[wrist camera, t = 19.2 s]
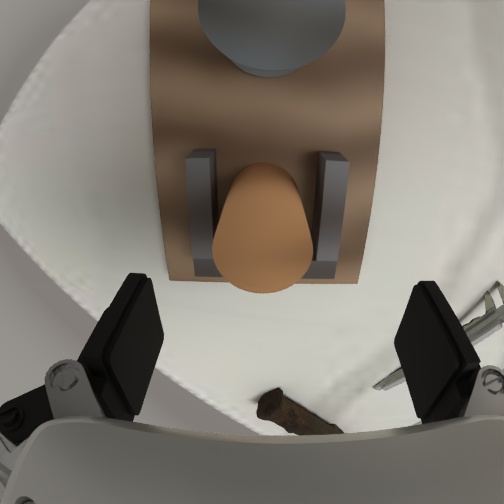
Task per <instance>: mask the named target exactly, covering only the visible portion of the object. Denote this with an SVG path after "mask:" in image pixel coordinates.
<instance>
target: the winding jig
mask: <svg viewBox="0 0 504 504" xmlns="http://www.w3.org/2000/svg"><path fill="white" fill-rule="evenodd" d="M384 69H385V9H384V0H151V4H150V85H151V110H152V128H153V143H154V156H155V167H156V178H157V188H158V198H159V207H160V215H161V224H162V231H163V239H164V246H165V253H166V260H167V267H168V273H169V280H171V281H199V282H228V281H227V280H226V279H225V278H224V277H223V276H222V275H221V273H220V272H219V270H218V269H217V267H216V265H215V262H214V259H213V254H212V244H213V239H214V236H215V233H216V229H217V226H218V223H219V220H220V217H221V214H222V210H223V207H224V204H225V201H226V198H227V195H228V192H229V189H230V186H231V183H232V181H233V179H234V178H235V176H236V175H237V174H238V173H239V172H240V171H241V170H243V169H244V168H246V167H248V166H250V165H253V164H257V163H270V164H274V165H277V166H279V167H282V168H283V169H285V170H286V171H287V172H288V173H289V174H290V175H291V176H292V177H293V179H294V180H295V182H296V184H297V187H298V191H299V194H300V198H301V202H302V205H303V209H304V212H305V216H306V220H307V224H308V227H309V231H310V235H311V239H312V243H313V256H312V261H311V264H310V266H309V268H308V270H307V271H306V273H305V274H304V275H303V277H302V278H301V279H300V280H298V281H297V282H296V283H295V284H357V283H358V279H359V274H360V269H361V264H362V259H363V254H364V249H365V243H366V238H367V232H368V226H369V220H370V214H371V207H372V201H373V194H374V187H375V179H376V171H377V163H378V154H379V144H380V134H381V122H382V109H383V92H384Z"/></svg>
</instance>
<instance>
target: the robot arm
mask: <svg viewBox="0 0 504 504" xmlns="http://www.w3.org/2000/svg"><path fill="white" fill-rule="evenodd" d="M163 340H164V332H163V328H162V324H161V320H160V316H159V311H158V307H157V302H156V298H155V293H154V289H153V284H152V280H151V278H147V276H146V274H142V273H129V274H128V276H127V277H126V279H125V281H124V282H123V284H122V286H121V287H120V289H119V291H118V292H117V294H116V296H115V297H114V299H113V301H112V303H111V304H110V306H109V307H108V308H107V309H106V310H105V311H104V313H103V314H102V316H101V318H100V320H99V321H98V323H97V325H96V327H95V328H94V330H93V332H92V334H91V336H90V338H89V339H88V341H87V343H86V345H85V347H84V349H83V350H82V352H81V354H80V356H79V358H78V360H77V361H75V360H72V359H67V360H62V361H59V362H57V363H55V364H54V365H53V366H51V367H50V368H49V370H48V371H47V373H46V376H45V385H43V386H41V387H38V388H36V389H34V390H32V391H30V392H27V393H25V394H23V395H21V396H19V397H17V398H14V399H12V400H10V401H7V402H6V403H4V404H3V405H2V406H1V407H0V504H504V372H503V371H502V370H501V369H500V368H498V367H495V366H491V365H487V366H484V367H483V368H481V367H480V365H479V363H480V362H481V361H480V359H479V357H478V355H477V353H476V351H475V349H474V347H473V345H472V344H471V342H470V340H469V338H468V336H467V334H466V333H465V331H464V329H463V327H462V325H461V324H460V322H459V320H458V318H457V317H456V315H455V313H454V312H453V310H452V308H451V307H450V305H449V303H448V302H447V300H446V298H445V297H444V295H443V293H442V292H441V290H440V289H439V287H438V285H437V284H436V282H435V281H419V283H418V284H417V285H415V286H414V287H413V290H412V293H411V296H410V299H409V302H408V304H407V307H406V310H405V313H404V315H403V318H402V321H401V323H400V326H399V329H398V331H397V334H396V336H395V340H394V345H395V349H396V352H397V355H398V358H399V361H400V364H401V367H402V370H403V373H404V376H405V379H406V382H407V385H408V388H409V392H410V395H411V398H412V401H413V405H414V408H415V412H416V415H417V417H418V418H421V421H422V424H421V425H414V426H408V427H401V428H394V429H387V430H378V431H369V432H359V433H346V434H331V435H304V436H269V435H242V434H226V433H214V432H203V431H194V430H185V429H178V428H170V427H162V426H156V425H149V424H142V423H137V422H133V419H134V416H135V415H139V413H140V410H141V408H142V405H143V401H144V398H145V395H146V392H147V389H148V386H149V383H150V380H151V376H152V374H153V370H154V367H155V364H156V362H157V359H158V356H159V353H160V350H161V347H162V344H163Z"/></svg>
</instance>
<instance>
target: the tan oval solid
mask: <svg viewBox="0 0 504 504" xmlns="http://www.w3.org/2000/svg"><path fill="white" fill-rule="evenodd" d="M212 254H213V259H214V262H215V265H216V267H217V269H218V270H219V272H220V273H221V275H222V276H223V277H224V278H225V279H226V280H227V281H228V282H230V283H231V284H233V285H234V286H236V287H238V288H240V289H242V290H245V291H249V292H253V293H273V292H277V291H281V290H284V289H286V288H288V287H290V286H292V285H293V284H295V283H296V282H297V281H298V280H300V279H301V278H302V277H303V275H304V274H305V273H306V271H307V270H308V268H309V266H310V264H311V261H312V256H313V243H312V239H311V235H310V231H309V227H308V224H307V220H306V216H305V212H304V209H303V205H302V202H301V198H300V194H299V191H298V187H297V184H296V182H295V180H294V179H293V177H292V176H291V175H290V174H289V173H288V172H287V171H286V170H285V169H283V168H282V167H279V166H277V165H274V164H270V163H257V164H253V165H250V166H248V167H246V168H244V169H243V170H241V171H240V172H239V173H238V174H237V175H236V176H235V178H234V179H233V181H232V183H231V186H230V189H229V192H228V195H227V198H226V201H225V204H224V207H223V210H222V214H221V217H220V220H219V223H218V226H217V229H216V233H215V236H214V239H213V244H212Z"/></svg>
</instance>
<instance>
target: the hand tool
mask: <svg viewBox="0 0 504 504" xmlns="http://www.w3.org/2000/svg"><path fill="white" fill-rule="evenodd" d="M257 417H258V418H259V419H262V420H269V421H272V422H274V423H276V424H277V425H279V426H281V427H283V428H284V429H285V430H286V431H287V432H288V433H295V434H297V435H299V436H304V435H331V434H344V432H343V431H342V430H341V429H339V427H338V426H337V425H335V424H327V423H326V422H324V421H323V420H321V419H320V418H319V417H316V416H314V415H312V414H311V413H309V412H308V411H306V410H305V409H303V408H302V407H301V406H298V405H296V404H295V403H293V402H291V401H290V400H288V399H286V398H285V397H284V396H283V391H282V390H281V389H280V388H277V389H275V390H272V391H270V392H268V393H266V394H264V395H263V396H262V397H261V398H260V400H259V402H258V408H257Z"/></svg>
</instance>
